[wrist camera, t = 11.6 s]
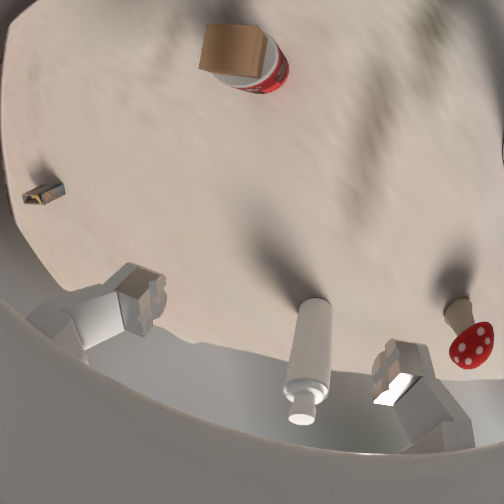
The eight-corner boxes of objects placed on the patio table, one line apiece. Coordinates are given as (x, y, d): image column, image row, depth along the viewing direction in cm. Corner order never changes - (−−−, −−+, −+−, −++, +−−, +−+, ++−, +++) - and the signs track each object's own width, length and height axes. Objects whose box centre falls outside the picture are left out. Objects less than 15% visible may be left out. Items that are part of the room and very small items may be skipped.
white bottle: (291, 309, 52) (264, 424, 31) (318, 291, 48) (303, 414, 27) (313, 328, 53) (296, 441, 32) (339, 313, 50) (334, 432, 28)
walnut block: (268, 39, 22) (258, 25, 18) (260, 79, 25) (248, 72, 20) (224, 35, 23) (207, 24, 19) (217, 74, 25) (198, 68, 21)
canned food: (226, 70, 34) (195, 58, 25) (266, 38, 30) (247, 15, 21) (258, 104, 36) (236, 101, 27) (300, 73, 32) (292, 58, 23)
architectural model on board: (64, 181, 52) (35, 195, 44) (66, 193, 54) (37, 208, 45) (42, 182, 54) (15, 195, 46) (44, 193, 56) (18, 207, 48)
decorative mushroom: (446, 332, 45) (463, 386, 33) (429, 312, 44) (448, 370, 32) (480, 304, 40) (506, 356, 28) (467, 281, 39) (496, 335, 27)
